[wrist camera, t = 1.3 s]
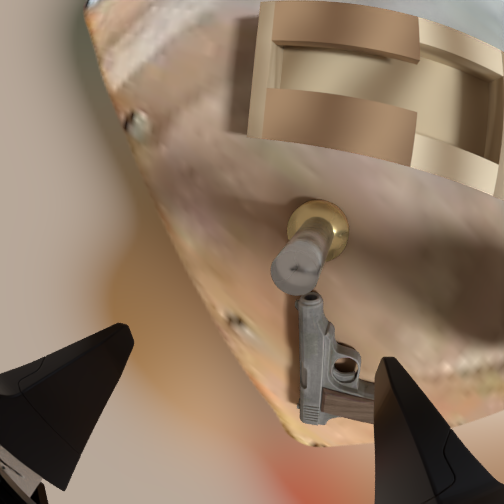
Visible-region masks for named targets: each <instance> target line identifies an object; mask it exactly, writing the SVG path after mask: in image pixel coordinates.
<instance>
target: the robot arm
mask: <svg viewBox="0 0 504 504" xmlns="http://www.w3.org/2000/svg"><path fill="white" fill-rule="evenodd" d="M133 346H134V339H133V337H132V334H131V331H130V329H129V326H128V325H126V324H123V323H116V324H114V325H112V326H110V327H108V328H106V329H103V330H101V331H99V332H97V333H95V334H93V335H90V336H88V337H86V338H84V339H82V340H80V341H77V342H75V343H73V344H71V345H69V346H67V347H64V348H62V349H60V350H58V351H56V352H54V353H52V354H49V355H47V356H46V357H42V358H40V359H38V360H36V361H33V362H32V363H29V364H26V365H23V366H21V367H18V368H16V369H12V370H10V371H7V372H4V373H1V374H0V504H48V500H47V496H46V491H45V486H44V484H43V483H42V482H41V480H42V478H43V479H45V480H46V481H48V482H49V483H51V484H53V485H54V486H56V487H57V488H59V489H61V490H62V491H65V490H66V488H67V486H68V483H69V481H70V479H71V476H72V474H73V472H74V470H75V467H76V465H77V463H78V461H79V459H80V456H81V454H82V452H83V450H84V447H85V445H86V443H87V441H88V439H89V437H90V435H91V433H92V431H93V429H94V427H95V425H96V423H97V421H98V419H99V417H100V415H101V413H102V411H103V409H104V407H105V405H106V403H107V401H108V399H109V398H110V396H111V394H112V392H113V390H114V388H115V386H116V384H117V383H118V381H119V379H120V377H121V375H122V372H123V370H124V368H125V365H126V363H127V360H128V358H129V355H130V353H131V351H132V349H133ZM373 420H374V441H375V504H504V484H502V483H500V482H498V481H497V480H496V479H495V478H494V477H493V476H492V475H491V474H490V473H489V472H488V471H487V470H486V469H485V468H484V467H483V466H482V465H481V463H479V461H478V460H477V459H476V458H475V457H474V456H473V455H472V454H471V453H470V451H469V450H468V449H467V448H466V447H465V445H464V444H463V443H462V442H461V440H460V439H459V438H458V437H457V435H456V434H455V433H454V431H453V430H452V429H450V426H449V425H448V423H447V422H446V421H445V419H444V418H443V417H442V415H441V414H440V413H439V412H438V410H437V409H436V408H435V406H434V405H433V404H432V403H431V401H430V400H429V399H428V397H427V396H426V395H425V394H424V392H423V391H422V390H421V389H420V387H419V386H418V385H417V384H416V382H415V381H414V380H413V379H412V377H411V376H410V375H409V374H408V373H407V371H406V370H405V369H404V368H403V366H402V365H401V364H400V363H399V362H398V360H397V359H396V358H395V357H383V358H382V359H381V361H380V364H379V366H378V369H377V371H376V374H375V390H374V418H373Z"/></svg>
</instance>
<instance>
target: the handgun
mask: <svg viewBox="0 0 504 504" xmlns="http://www.w3.org/2000/svg"><path fill="white" fill-rule="evenodd" d="M295 307H296V309H297V310H298V311H299V350H300V399H299V403H298V404H297V408H298V409H300V420H301V421H302V422H303V423H306V424H312V425H318V424H319V425H325V424H326V423H327V421H328V420H329V419H332V418H336V417H344V418H348V419H352V420H357V421H361V422H366V423H370V424H374V420H373V418H374V390H375V384H373V383H369V382H365V381H363V380H361V379H359V373H360V367H361V356H360V354H359V352H357V351H356V350H354V349H352V348H349V347H345V346H341V345H339V344H338V343H337V342H336V340H335V334H334V332H335V328H334V326H333V324H332V323H331V322H329V321H328V320H327V318H326V317H325V315H324V312H323V299H322V297H321V296H320V294H318V293H315V292H309V293H307V294H304V295H302V296H301V297H300V299H299V300H296V301H295ZM347 357H349V358H351V359H353V360H355V361H356V363H357V364H358V370H357V372H356V373H355V371H353V372H348V373H343V372H339V371H338V370H337V369H336V368H335V367H334V363H335V361H336V360H337V359H339V358H347Z"/></svg>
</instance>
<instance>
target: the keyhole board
mask: <svg viewBox="0 0 504 504" xmlns="http://www.w3.org/2000/svg"><path fill="white" fill-rule="evenodd" d="M247 137H250V138H261V139H270V140H278V141H286V142H294V143H300V144H307V145H313V146H319V147H325V148H331V149H336V150H341V151H346V152H351V153H356V154H361V155H365V156H369V157H374V158H378V159H382V160H386V161H390V162H394V163H398V164H401V165H405V166H408V167H412V168H415V169H419V170H422V171H425V172H429V173H432V174H435V175H438V176H441V177H444V178H447V179H450V180H453V181H456V182H458V183H461V184H464V185H466V186H469V187H472V188H474V189H477V190H479V191H482V192H484V193H487V194H489V195H492V196H494V197H496V198H499V199H501V200H503V201H504V52H503V51H501V50H499V49H497V48H495V47H493V46H491V45H489V44H487V43H485V42H483V41H481V40H479V39H477V38H475V37H472V36H470V35H468V34H465V33H463V32H460V31H458V30H455V29H453V28H450V27H447V26H445V25H442V24H439V23H436V22H433V21H430V20H426V19H423V18H420V17H416V16H412V15H409V14H405V13H400V12H396V11H392V10H387V9H382V8H376V7H370V6H364V5H357V4H349V3H339V2H326V1H268V2H261V3H260V12H259V21H258V30H257V39H256V48H255V58H254V68H253V77H252V88H251V98H250V108H249V119H248V130H247Z"/></svg>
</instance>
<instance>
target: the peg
mask: <svg viewBox="0 0 504 504" xmlns="http://www.w3.org/2000/svg"><path fill="white" fill-rule="evenodd" d="M287 236H288V240H289V242H288V243H287V244H286V246H285V247H284V248H283V249H282V250H281V252H280V253H279V254H278V255H277V257H276V258H275V259H274V261H273V262H272V265H271V277H272V279H273V281H274V283H275V285H276V286H277V287H278V288H279V289H280V290H282V291H283V292H285V293H287V294H290V295H296V296H299V295H304V294H307V293H309V292H310V291H312V290H313V289H314V287H315V286H316V284H317V281H318V279H319V276H320V274H321V271H322V268H323V266H324V263H325V262H327V261H330V260H332V259H334V258H336V257H337V256H339V255H340V254H341V253H342V251H343V250H344V248H345V246H346V244H347V241H348V236H349V224H348V221H347V218H346V216H345V214H344V213H343V212H342V210H341V209H340V208H339V207H337V206H336V205H335V204H333V203H331V202H329V201H325V200H311V201H308V202H306V203H304V204H302V205H301V206H300V207H299V208H297V209H296V210H295V211H294V212H293V214H292V215H291V217H290V219H289V222H288V225H287Z"/></svg>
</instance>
